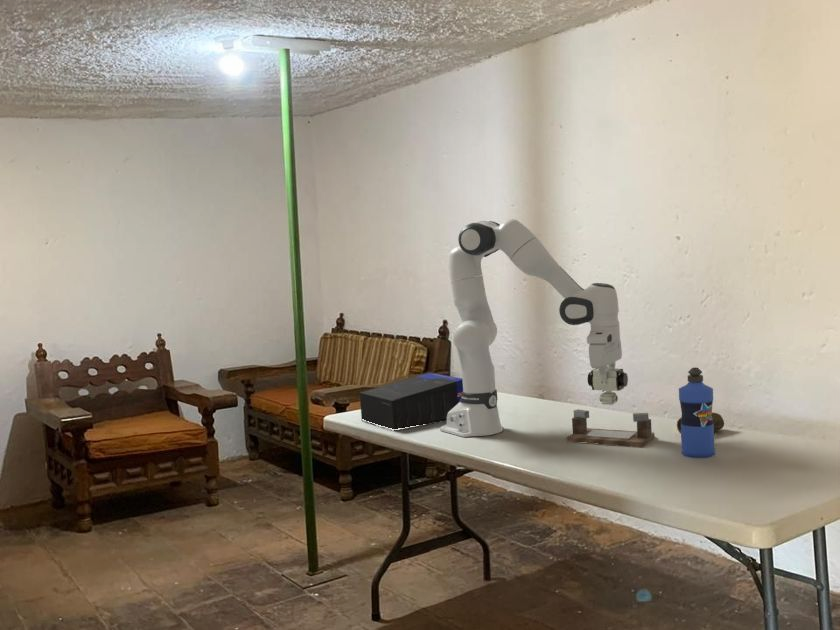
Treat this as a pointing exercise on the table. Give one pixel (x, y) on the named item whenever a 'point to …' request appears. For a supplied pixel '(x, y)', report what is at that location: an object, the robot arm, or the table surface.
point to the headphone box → (411, 401)
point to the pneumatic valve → (608, 384)
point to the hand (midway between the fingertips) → (607, 378)
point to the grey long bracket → (611, 434)
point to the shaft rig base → (638, 440)
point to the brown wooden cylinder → (717, 422)
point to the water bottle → (696, 417)
